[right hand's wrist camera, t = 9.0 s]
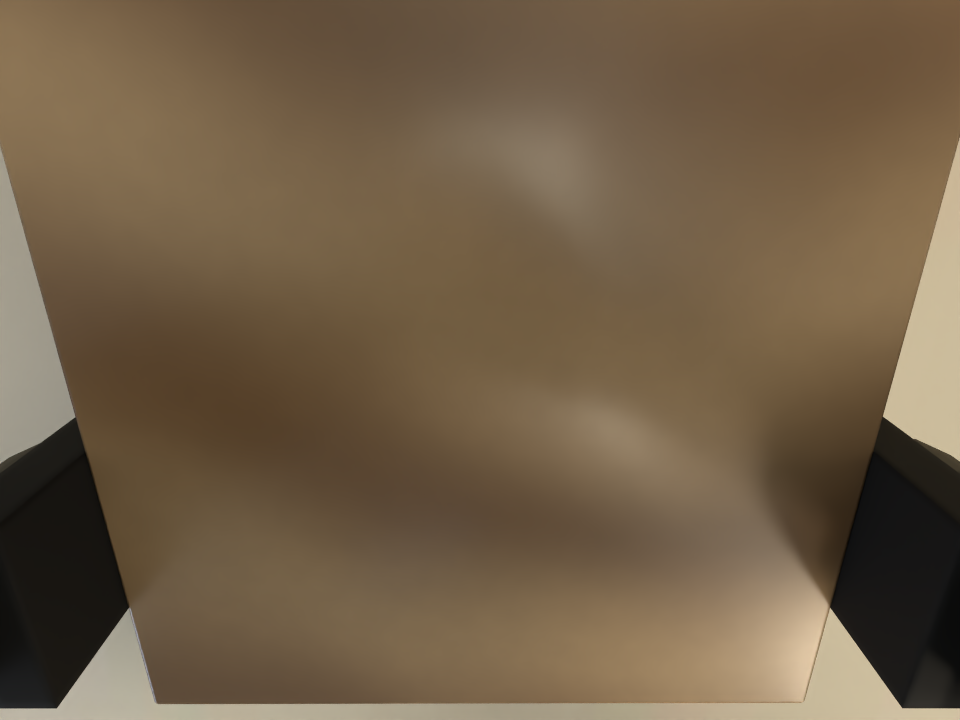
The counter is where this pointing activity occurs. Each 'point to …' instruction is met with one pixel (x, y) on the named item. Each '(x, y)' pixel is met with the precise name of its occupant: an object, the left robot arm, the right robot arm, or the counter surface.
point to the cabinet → (479, 327)
